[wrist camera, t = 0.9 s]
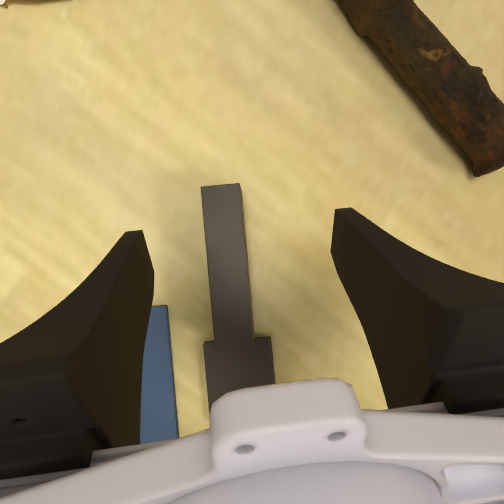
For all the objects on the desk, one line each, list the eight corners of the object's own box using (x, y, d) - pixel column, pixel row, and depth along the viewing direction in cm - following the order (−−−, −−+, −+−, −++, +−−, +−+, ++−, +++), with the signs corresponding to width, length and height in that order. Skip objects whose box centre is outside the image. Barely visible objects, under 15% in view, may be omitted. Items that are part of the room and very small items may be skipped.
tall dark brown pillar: (278, 416, 28) (280, 437, 25) (211, 422, 28) (205, 443, 25) (257, 189, 28) (257, 181, 25) (191, 195, 28) (182, 188, 25)
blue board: (188, 544, 28) (187, 551, 28) (122, 549, 28) (119, 556, 28) (167, 304, 28) (165, 305, 28) (101, 310, 28) (97, 311, 28)
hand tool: (512, 150, 28) (564, 129, 23) (470, 183, 28) (512, 169, 23) (353, -49, 28) (372, -109, 24) (311, -16, 28) (322, -69, 24)
